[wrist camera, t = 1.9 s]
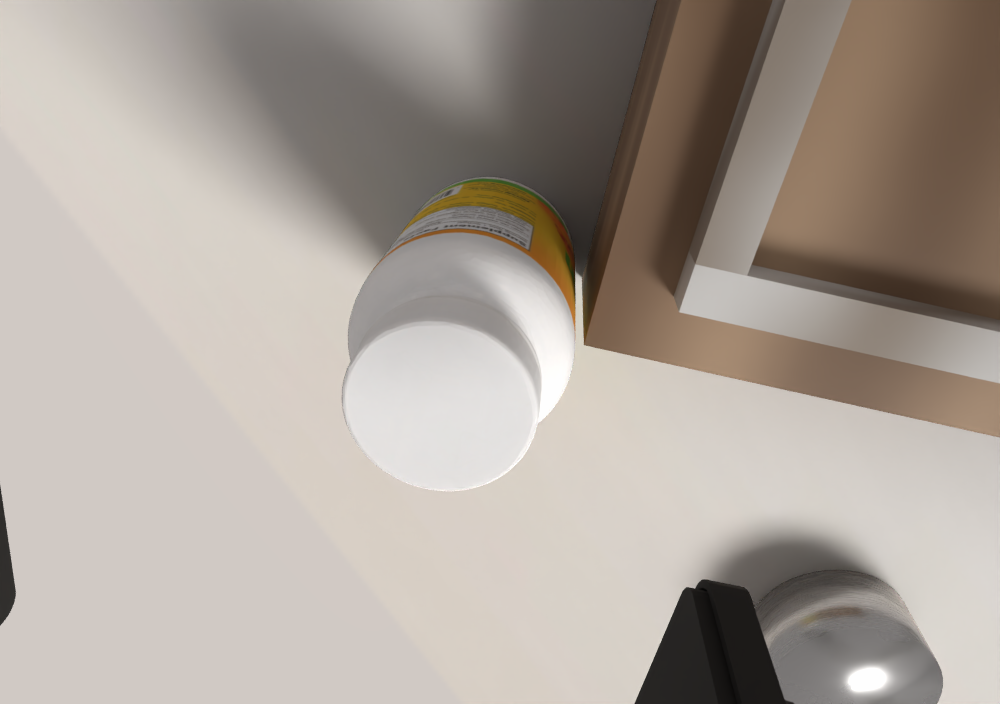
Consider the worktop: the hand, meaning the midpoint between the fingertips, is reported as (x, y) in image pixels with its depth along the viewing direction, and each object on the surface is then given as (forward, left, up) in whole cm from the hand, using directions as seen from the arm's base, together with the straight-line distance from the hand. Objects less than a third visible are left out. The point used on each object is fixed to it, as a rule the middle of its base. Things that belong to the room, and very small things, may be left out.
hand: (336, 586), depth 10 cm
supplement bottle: (-1, 0, -15) cm, 15 cm away
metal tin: (-17, +12, -15) cm, 25 cm away
